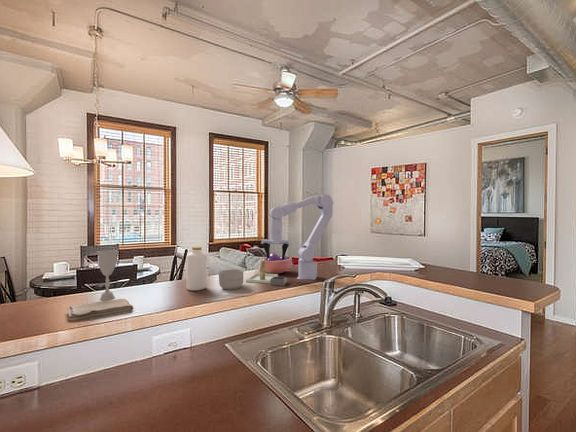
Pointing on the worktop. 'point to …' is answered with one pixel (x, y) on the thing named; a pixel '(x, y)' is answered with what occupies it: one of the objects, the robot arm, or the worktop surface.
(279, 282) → the grey square box
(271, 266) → the cell model
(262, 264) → the dowel
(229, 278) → the teacup
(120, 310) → the washcloth
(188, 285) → the potion bottle
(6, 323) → the worktop surface
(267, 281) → the tray
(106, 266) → the chalice
